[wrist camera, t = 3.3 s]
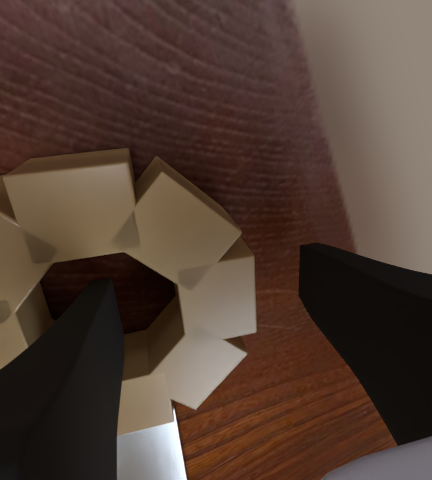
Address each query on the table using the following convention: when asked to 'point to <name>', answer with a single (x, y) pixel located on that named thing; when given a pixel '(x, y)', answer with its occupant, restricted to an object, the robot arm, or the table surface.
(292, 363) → the table surface
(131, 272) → the table surface
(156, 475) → the peg stand
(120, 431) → the ring
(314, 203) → the table surface
